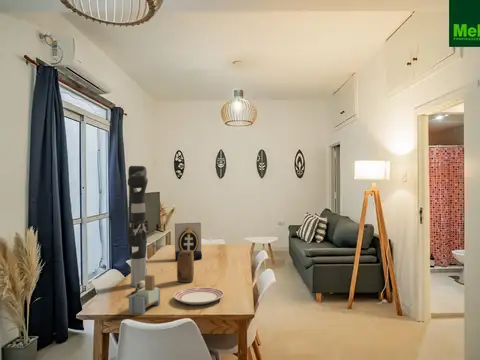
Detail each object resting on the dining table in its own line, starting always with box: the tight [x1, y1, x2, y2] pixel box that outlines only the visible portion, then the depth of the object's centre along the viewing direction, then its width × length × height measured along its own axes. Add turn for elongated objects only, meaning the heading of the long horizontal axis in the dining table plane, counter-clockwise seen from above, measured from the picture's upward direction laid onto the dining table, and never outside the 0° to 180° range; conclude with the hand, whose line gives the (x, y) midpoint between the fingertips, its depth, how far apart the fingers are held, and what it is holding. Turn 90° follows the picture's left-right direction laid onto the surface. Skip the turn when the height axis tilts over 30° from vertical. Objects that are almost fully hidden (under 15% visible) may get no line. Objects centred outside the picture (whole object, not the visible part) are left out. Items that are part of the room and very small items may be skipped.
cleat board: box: [128, 288, 161, 315], centre depth 179 cm, size 8×16×8 cm, turn 158°
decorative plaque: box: [174, 222, 203, 262], centre depth 290 cm, size 21×11×30 cm, turn 104°
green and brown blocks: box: [137, 274, 159, 304], centre depth 178 cm, size 7×8×13 cm
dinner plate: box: [173, 286, 225, 306], centre depth 192 cm, size 28×27×3 cm
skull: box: [130, 281, 145, 296], centre depth 203 cm, size 12×10×10 cm
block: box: [176, 250, 195, 283], centre depth 226 cm, size 11×8×20 cm
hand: (138, 240), depth 192 cm, fingers open, 8 cm apart
